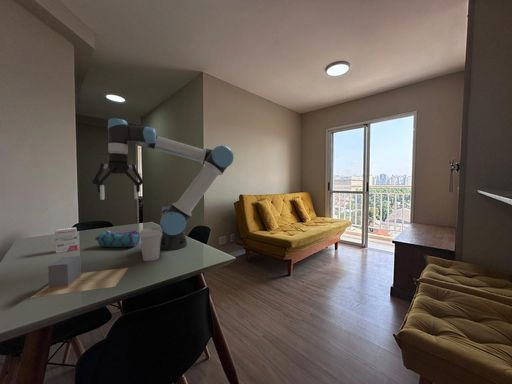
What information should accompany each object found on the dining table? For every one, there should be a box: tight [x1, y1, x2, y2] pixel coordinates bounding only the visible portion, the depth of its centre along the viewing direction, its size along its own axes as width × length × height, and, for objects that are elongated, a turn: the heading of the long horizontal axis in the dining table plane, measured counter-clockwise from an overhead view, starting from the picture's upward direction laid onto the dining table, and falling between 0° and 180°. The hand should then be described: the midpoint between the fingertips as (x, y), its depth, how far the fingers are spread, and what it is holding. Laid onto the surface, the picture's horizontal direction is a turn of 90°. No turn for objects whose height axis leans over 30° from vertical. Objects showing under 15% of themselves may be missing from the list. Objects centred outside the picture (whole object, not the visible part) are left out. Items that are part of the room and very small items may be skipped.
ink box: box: [54, 226, 78, 254], centre depth 109 cm, size 8×5×12 cm, turn 133°
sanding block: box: [47, 255, 81, 290], centre depth 71 cm, size 8×5×8 cm, turn 18°
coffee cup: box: [139, 227, 162, 262], centre depth 94 cm, size 10×10×15 cm
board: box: [30, 267, 129, 299], centre depth 73 cm, size 22×16×2 cm
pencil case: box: [94, 229, 141, 248], centre depth 116 cm, size 21×9×10 cm, turn 89°
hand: (119, 199), depth 95 cm, fingers open, 13 cm apart
